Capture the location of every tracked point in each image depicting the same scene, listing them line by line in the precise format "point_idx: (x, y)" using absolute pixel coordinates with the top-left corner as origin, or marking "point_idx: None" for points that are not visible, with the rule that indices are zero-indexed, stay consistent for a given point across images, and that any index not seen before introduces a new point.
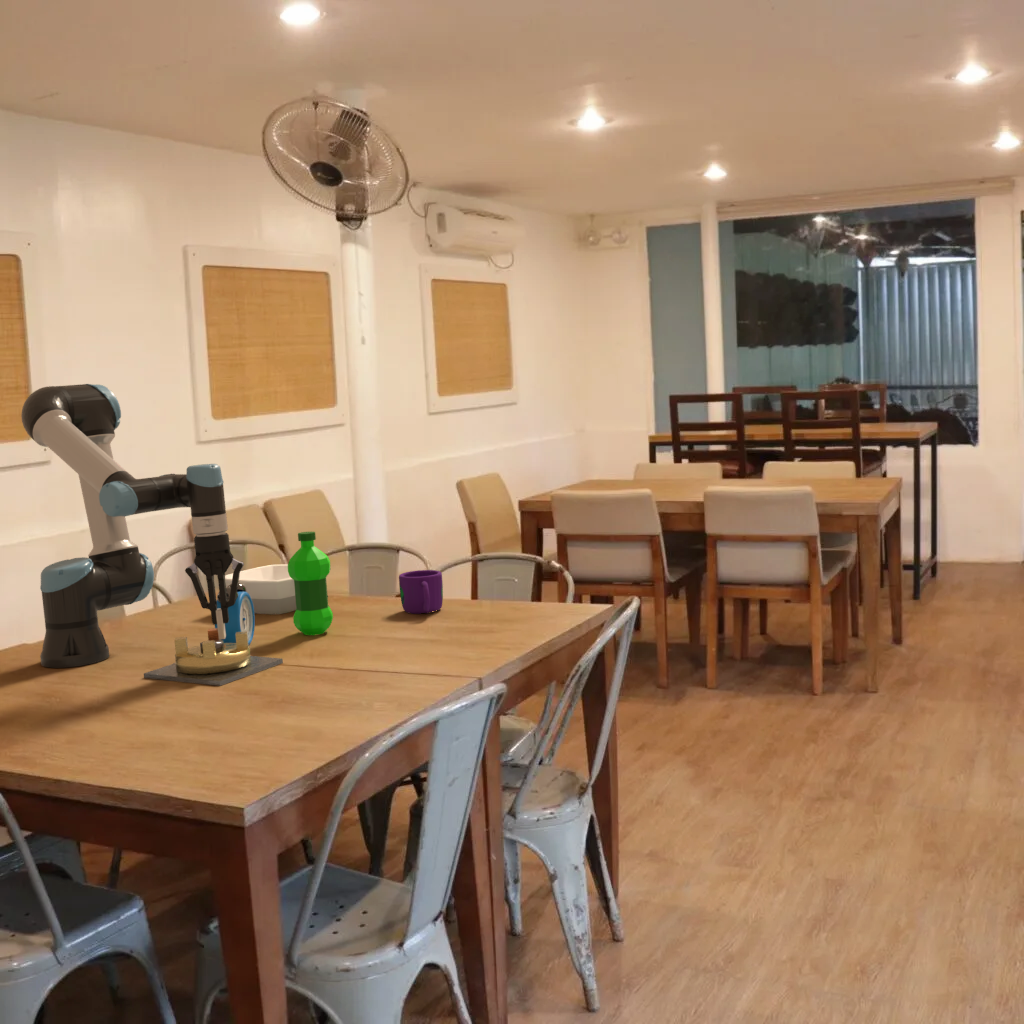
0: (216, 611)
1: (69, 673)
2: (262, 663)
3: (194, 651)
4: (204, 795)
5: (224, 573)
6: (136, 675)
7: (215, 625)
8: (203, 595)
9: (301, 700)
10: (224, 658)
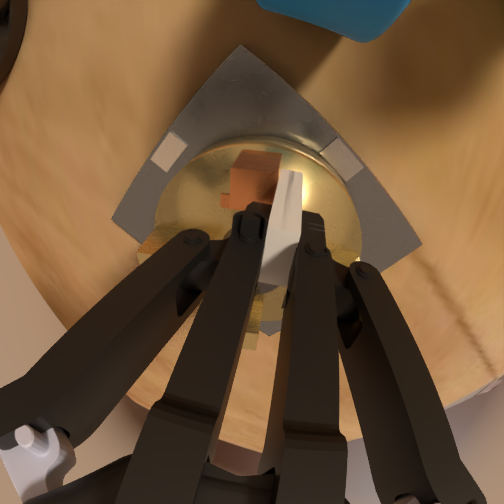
0: (261, 278)
1: (3, 126)
2: (372, 263)
3: (201, 228)
4: (253, 449)
5: (334, 473)
6: (95, 184)
7: (260, 5)
8: (172, 332)
9: (351, 398)
10: (281, 318)
